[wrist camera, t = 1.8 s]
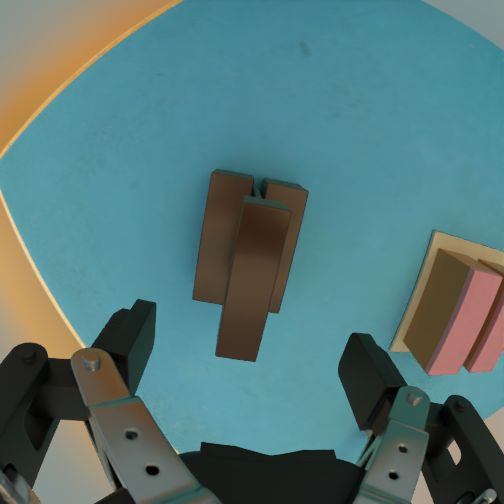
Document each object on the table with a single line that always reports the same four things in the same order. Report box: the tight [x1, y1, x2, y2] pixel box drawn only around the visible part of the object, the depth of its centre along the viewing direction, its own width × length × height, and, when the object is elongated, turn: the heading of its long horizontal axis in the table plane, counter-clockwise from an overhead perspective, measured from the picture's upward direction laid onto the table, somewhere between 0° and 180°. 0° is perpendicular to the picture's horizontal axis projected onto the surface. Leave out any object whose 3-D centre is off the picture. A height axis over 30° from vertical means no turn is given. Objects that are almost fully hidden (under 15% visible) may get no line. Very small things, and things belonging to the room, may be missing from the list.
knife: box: [215, 188, 292, 362], centre depth 22 cm, size 9×2×11 cm, turn 169°
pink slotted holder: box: [389, 230, 504, 375], centre depth 27 cm, size 14×13×7 cm
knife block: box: [192, 169, 308, 313], centre depth 25 cm, size 10×7×4 cm
